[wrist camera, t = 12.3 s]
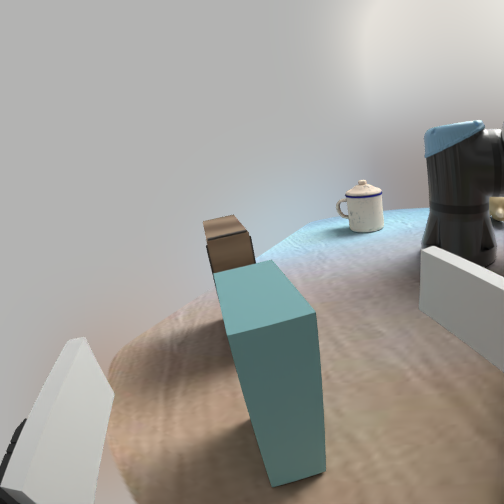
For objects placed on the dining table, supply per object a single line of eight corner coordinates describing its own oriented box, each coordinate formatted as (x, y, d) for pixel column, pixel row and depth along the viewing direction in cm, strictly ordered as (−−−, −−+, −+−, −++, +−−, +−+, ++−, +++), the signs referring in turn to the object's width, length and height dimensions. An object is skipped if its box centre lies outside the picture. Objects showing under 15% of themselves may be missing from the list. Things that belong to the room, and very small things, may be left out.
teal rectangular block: (250, 416, 25) (213, 273, 20) (294, 404, 25) (271, 259, 21) (271, 487, 17) (227, 335, 13) (325, 471, 18) (315, 311, 13)
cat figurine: (493, 192, 62) (512, 186, 51) (502, 217, 61) (522, 215, 50) (471, 202, 65) (487, 198, 53) (480, 228, 64) (498, 227, 53)
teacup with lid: (387, 222, 73) (383, 177, 70) (380, 233, 66) (376, 182, 63) (344, 222, 80) (339, 179, 77) (332, 232, 73) (326, 185, 70)
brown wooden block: (224, 317, 43) (201, 220, 39) (254, 310, 44) (234, 213, 40) (235, 362, 33) (204, 240, 29) (272, 352, 34) (249, 230, 29)
